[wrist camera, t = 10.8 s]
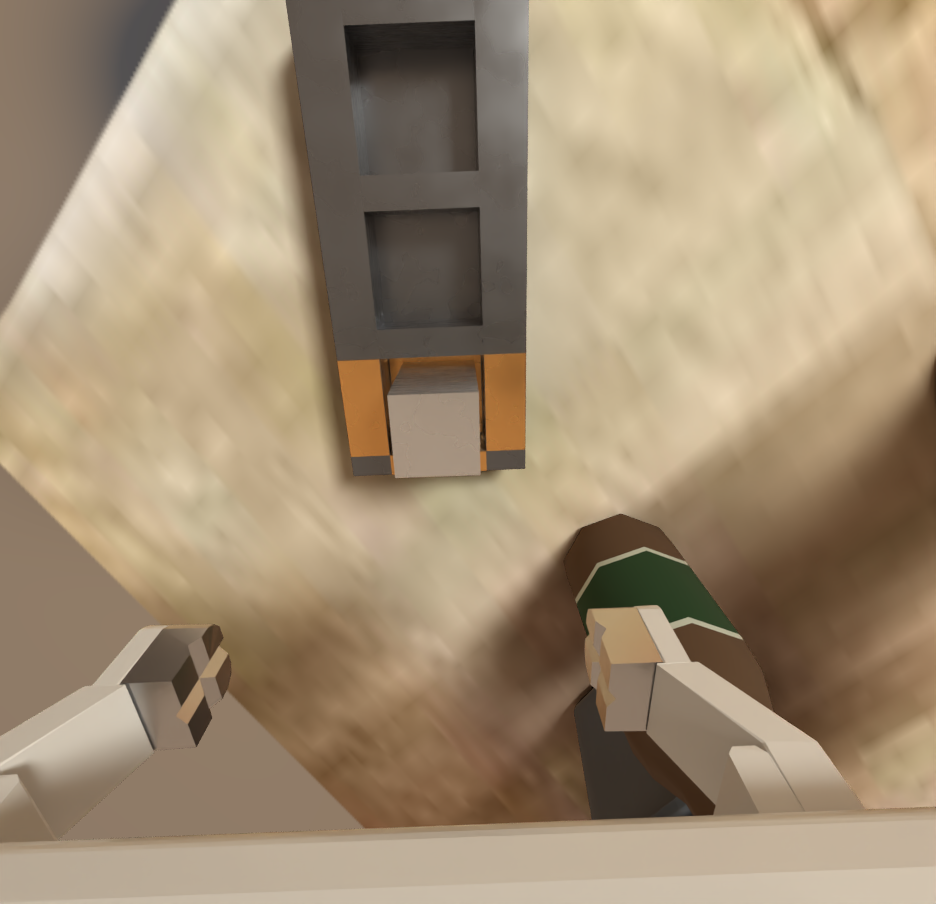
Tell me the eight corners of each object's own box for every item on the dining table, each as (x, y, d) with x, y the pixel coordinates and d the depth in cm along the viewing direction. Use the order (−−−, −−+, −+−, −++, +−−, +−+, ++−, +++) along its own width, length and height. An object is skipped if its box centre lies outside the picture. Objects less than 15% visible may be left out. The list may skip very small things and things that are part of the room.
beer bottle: (565, 510, 33) (777, 1022, 11) (676, 509, 34) (1102, 1012, 11) (557, 601, 36) (713, 1146, 14) (660, 599, 37) (971, 1137, 14)
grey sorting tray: (518, 17, 23) (529, -23, 20) (518, 446, 31) (525, 469, 28) (308, 25, 23) (283, -13, 20) (364, 452, 31) (353, 476, 28)
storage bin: (821, 711, 42) (991, 925, 28) (696, 809, 46) (791, 1032, 33) (632, 605, 37) (730, 804, 24) (515, 727, 42) (542, 949, 28)
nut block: (473, 360, 29) (478, 392, 22) (475, 427, 30) (480, 474, 24) (403, 362, 29) (387, 395, 22) (408, 429, 30) (395, 478, 24)
